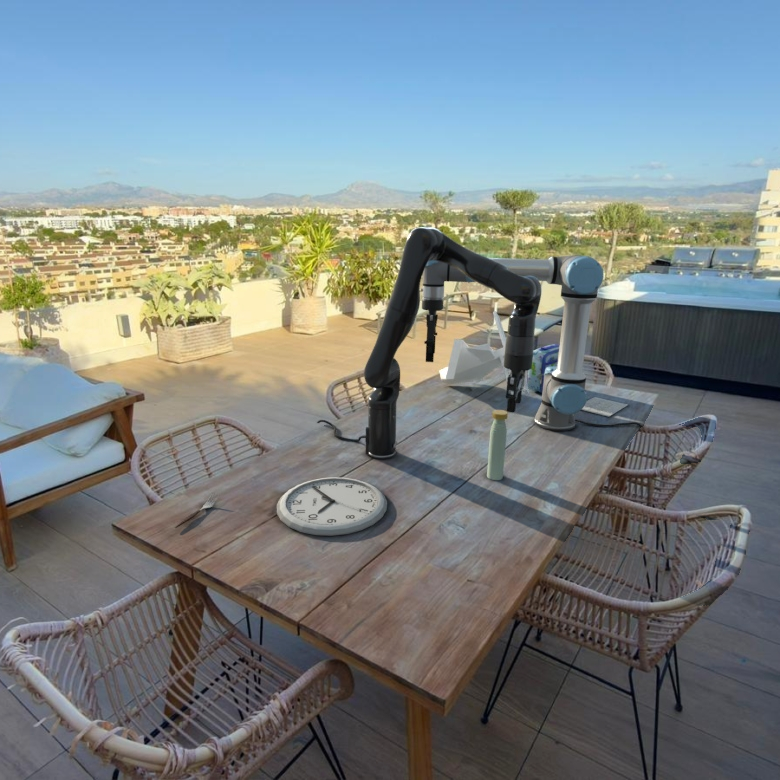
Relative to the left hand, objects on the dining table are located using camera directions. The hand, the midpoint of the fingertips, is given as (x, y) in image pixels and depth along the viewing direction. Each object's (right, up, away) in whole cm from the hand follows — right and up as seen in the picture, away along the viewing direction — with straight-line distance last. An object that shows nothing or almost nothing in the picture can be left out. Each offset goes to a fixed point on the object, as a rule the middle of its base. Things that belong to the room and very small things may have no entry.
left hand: (513, 407), depth 147 cm
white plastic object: (+7, +4, +96) cm, 97 cm away
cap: (-2, -2, +8) cm, 8 cm away
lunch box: (+40, +5, +103) cm, 111 cm away
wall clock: (-51, -27, -4) cm, 57 cm away
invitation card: (+57, -2, +79) cm, 98 cm away
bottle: (-3, -22, +14) cm, 26 cm away
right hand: (-20, +17, +43) cm, 50 cm away
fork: (-85, -28, -10) cm, 90 cm away
